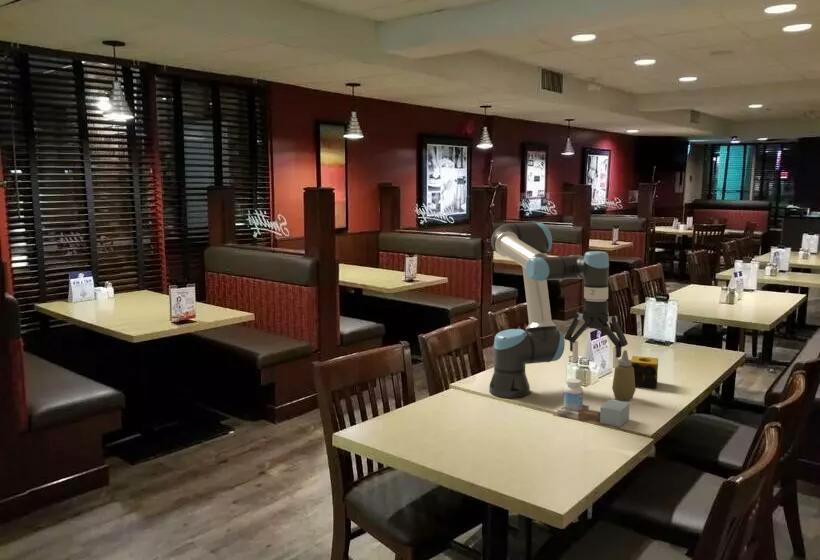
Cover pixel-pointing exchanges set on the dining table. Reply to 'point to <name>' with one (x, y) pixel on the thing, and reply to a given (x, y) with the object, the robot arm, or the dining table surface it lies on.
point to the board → (583, 416)
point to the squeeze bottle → (624, 379)
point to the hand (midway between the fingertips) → (594, 364)
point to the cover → (614, 413)
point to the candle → (645, 371)
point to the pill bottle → (573, 396)
